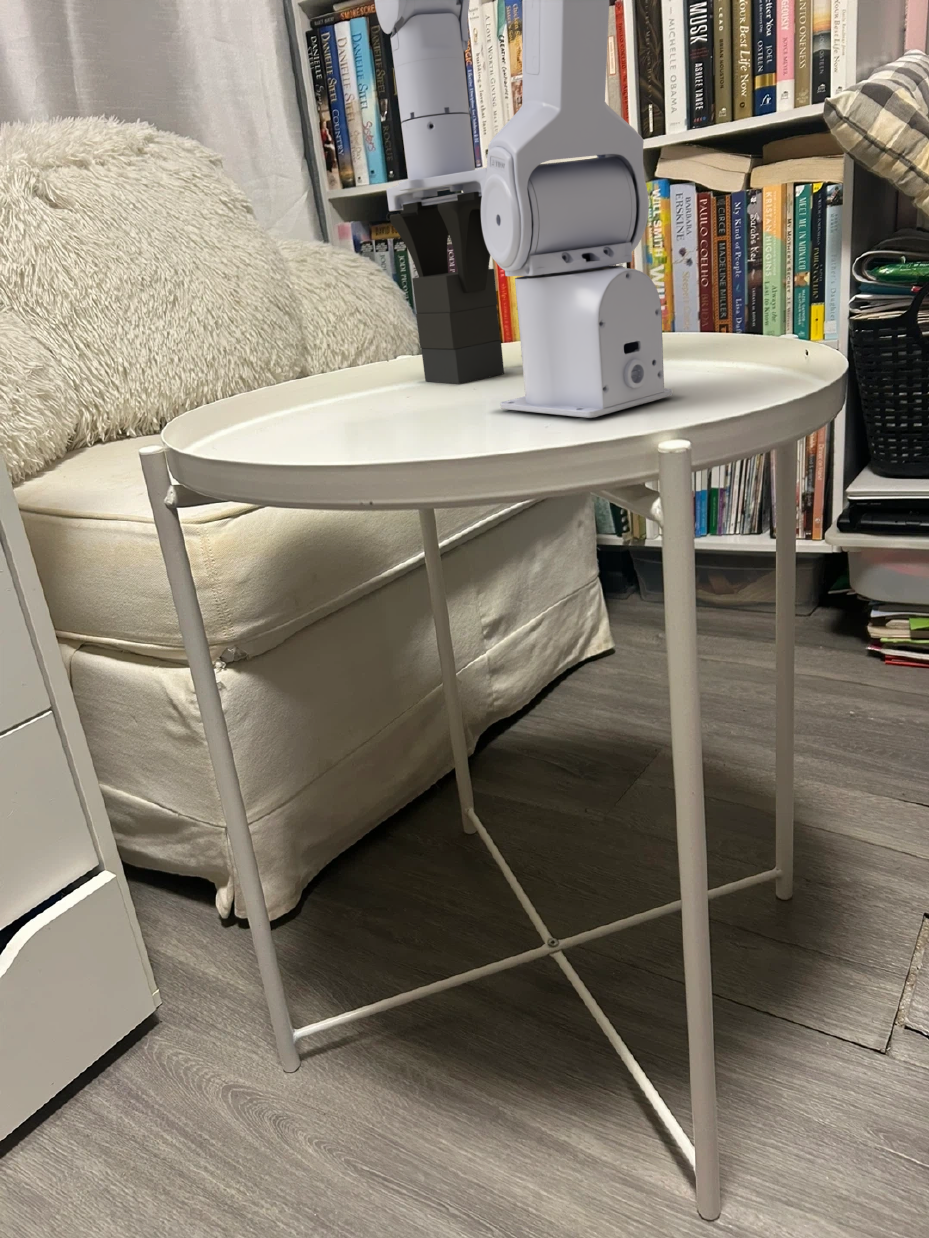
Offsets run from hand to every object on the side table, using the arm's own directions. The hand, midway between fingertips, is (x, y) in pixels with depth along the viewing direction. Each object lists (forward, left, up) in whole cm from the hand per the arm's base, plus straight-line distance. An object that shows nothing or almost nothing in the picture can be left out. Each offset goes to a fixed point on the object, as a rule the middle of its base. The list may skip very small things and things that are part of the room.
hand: (454, 292), depth 83 cm
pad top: (0, 0, -1) cm, 1 cm away
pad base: (0, 0, -7) cm, 7 cm away
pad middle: (0, 0, -4) cm, 4 cm away
